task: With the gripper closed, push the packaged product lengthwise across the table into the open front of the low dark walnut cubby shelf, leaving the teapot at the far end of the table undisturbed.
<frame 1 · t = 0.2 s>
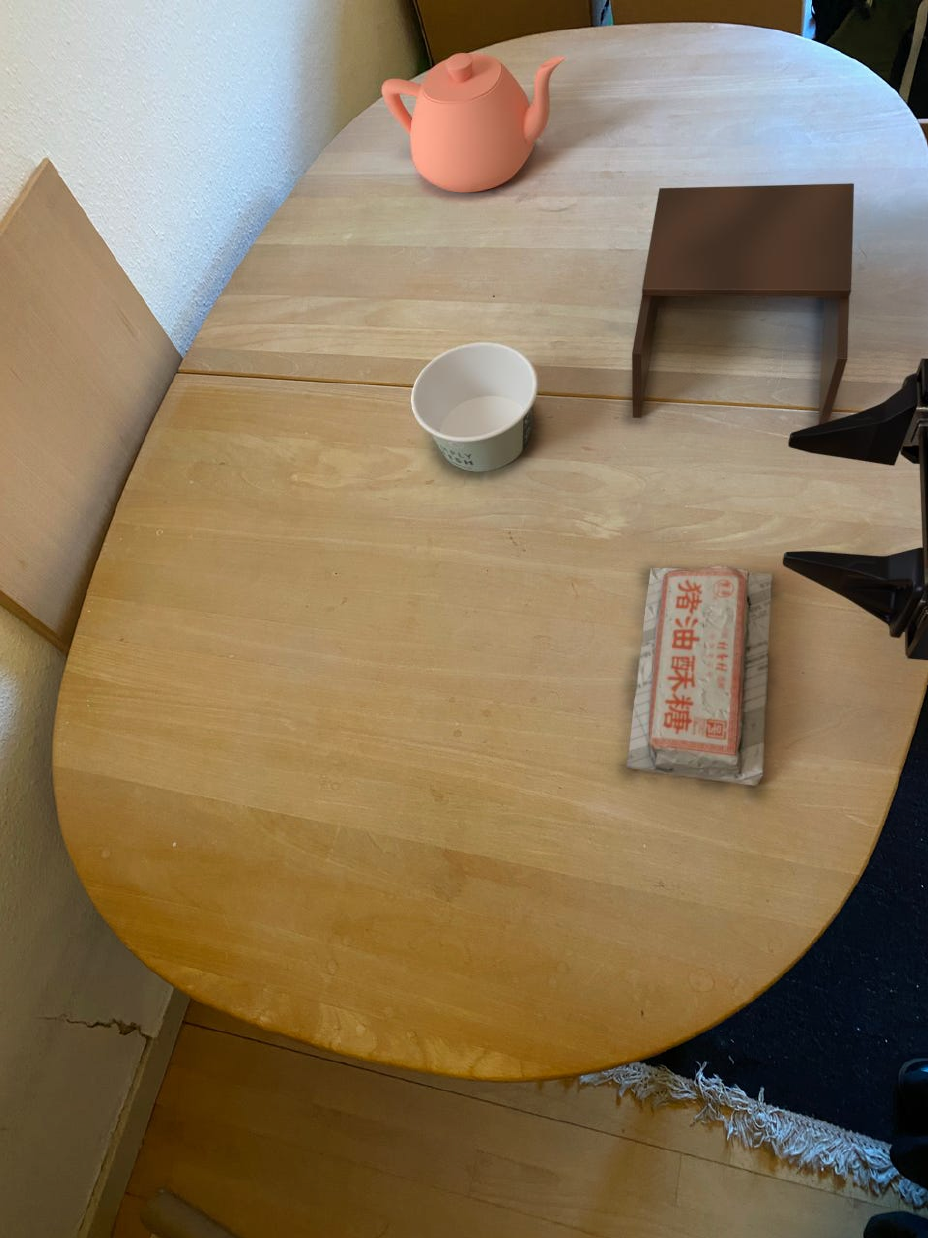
hand: (786, 496, 53), 18 cm above the table, tool horizontal, fingers open, 9 cm apart
packaged product: (701, 674, 68), on the table
cubby shelf: (735, 342, 83), on the table
teapot: (483, 163, 103), on the table
food container: (485, 435, 83), on the table
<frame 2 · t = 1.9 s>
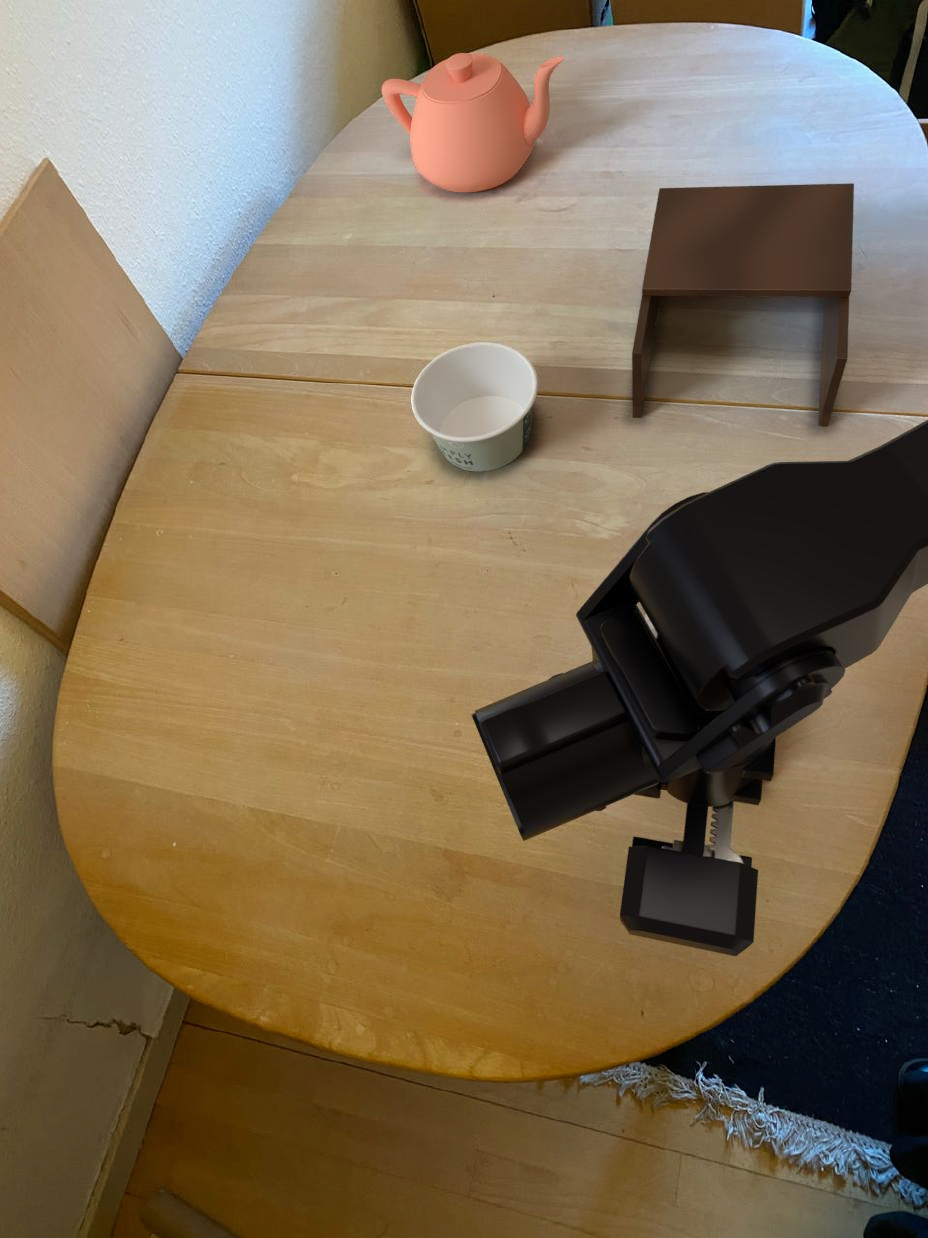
hand: (691, 800, 51), 12 cm above the table, tool pointing down, fingers open, 7 cm apart
nothing on the table moved.
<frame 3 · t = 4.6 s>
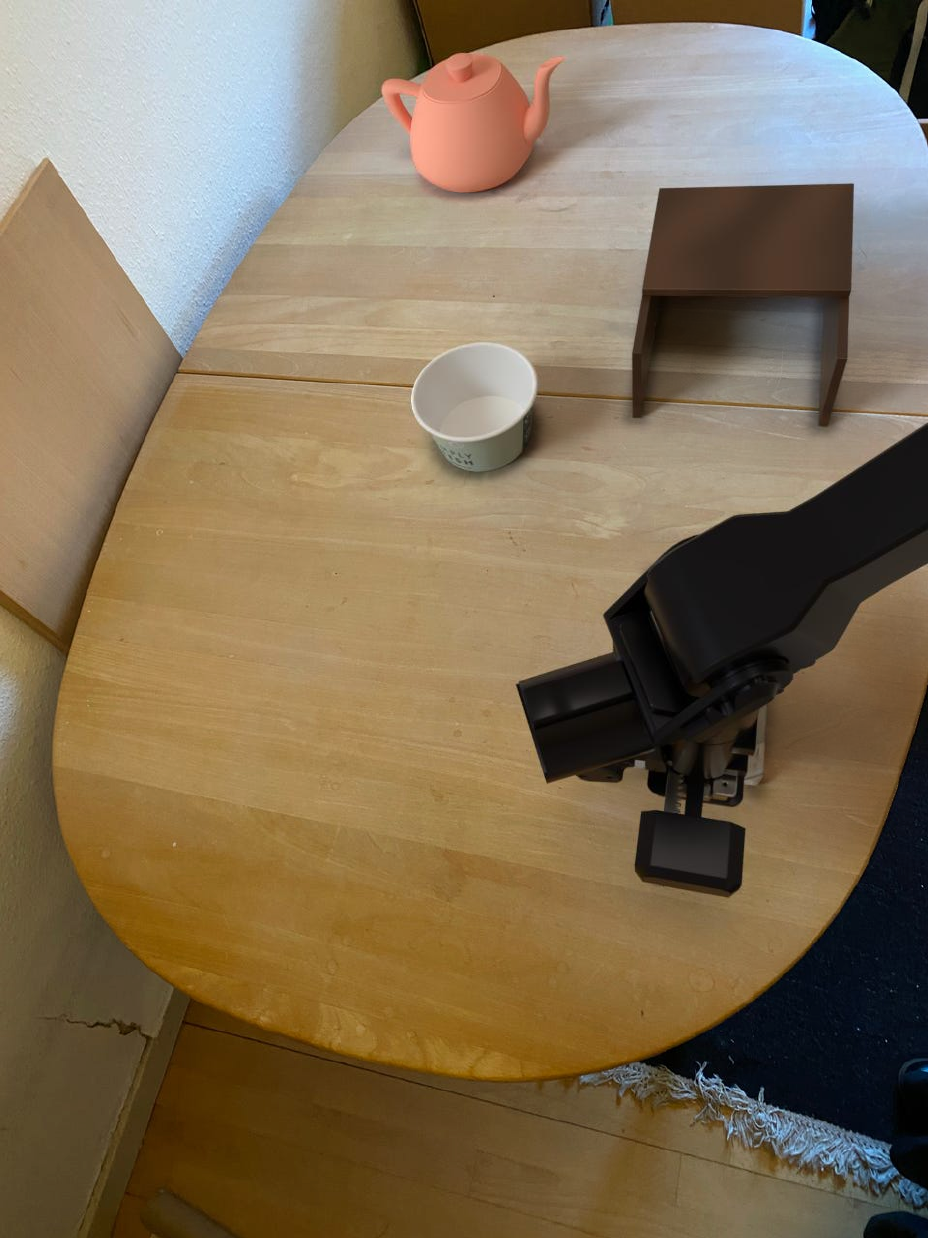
hand: (692, 777, 61), 3 cm above the table, tool pointing down, fingers closed
packaged product: (702, 674, 68), on the table, touching gripper
everything else where it was.
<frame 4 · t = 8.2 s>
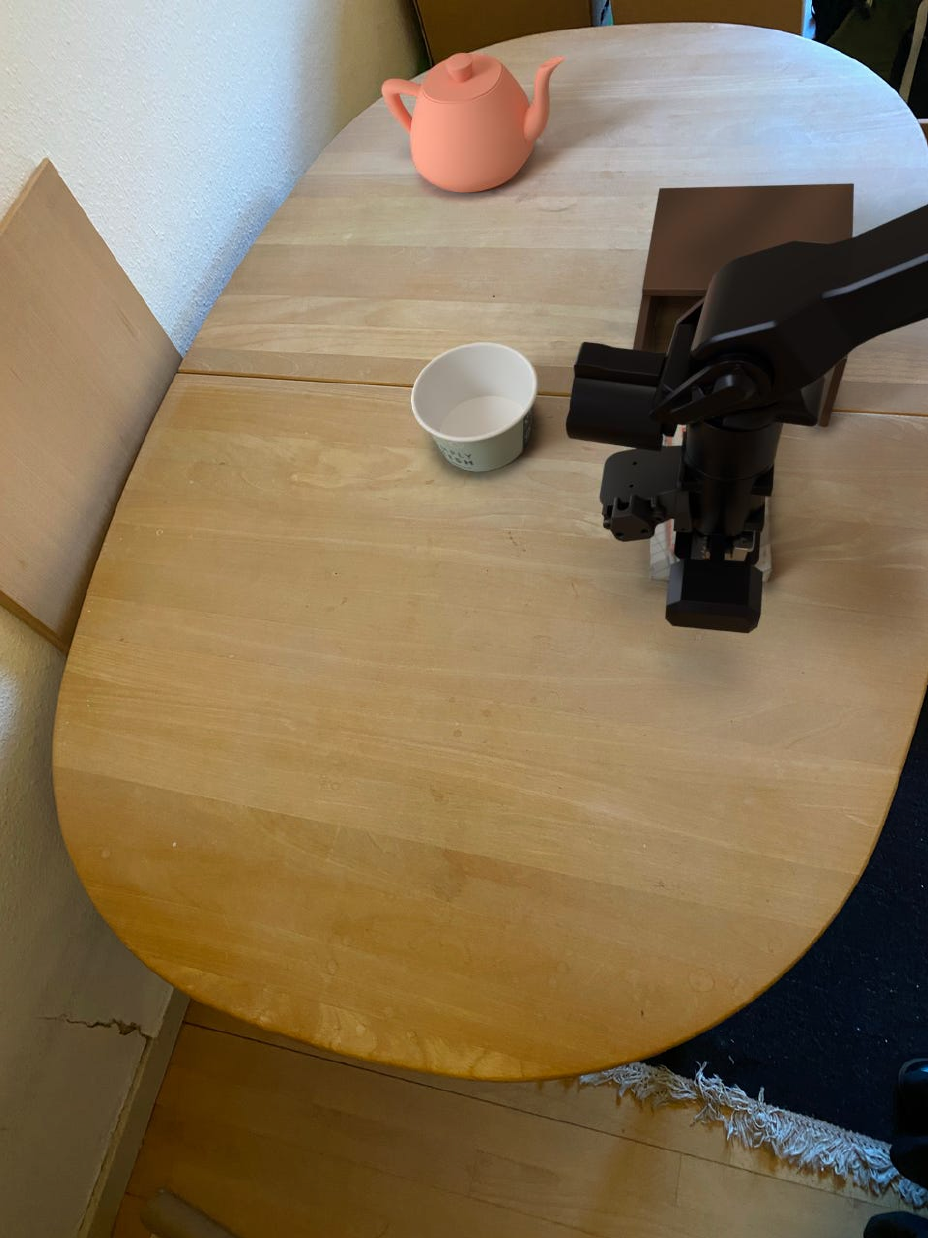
hand: (710, 570, 68), 3 cm above the table, tool pointing down, fingers closed
packaged product: (707, 499, 75), on the table, touching gripper
everything else where it was.
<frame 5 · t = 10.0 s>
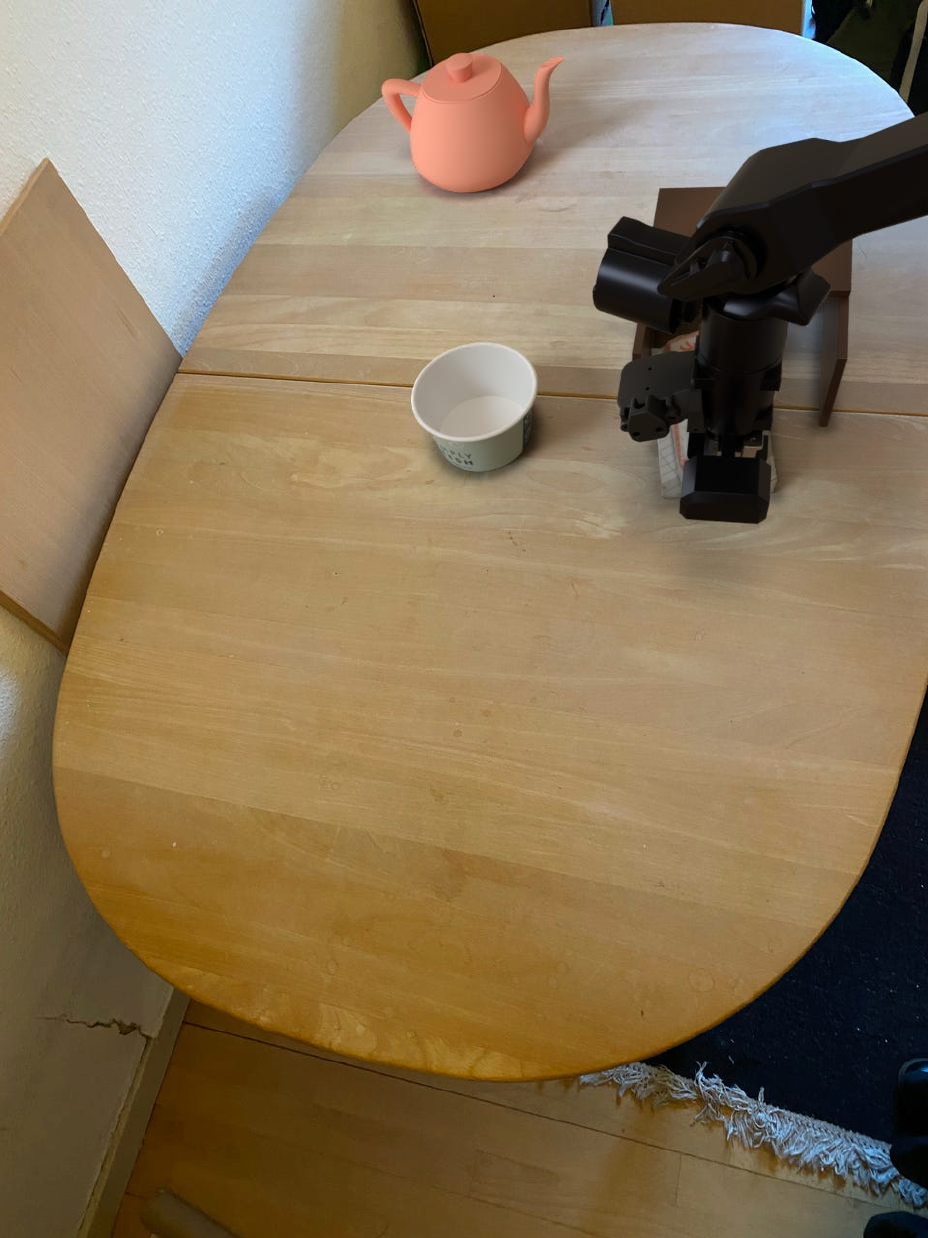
hand: (720, 481, 72), 3 cm above the table, tool pointing down, fingers closed
packaged product: (709, 422, 79), on the table, touching gripper
everything else where it was.
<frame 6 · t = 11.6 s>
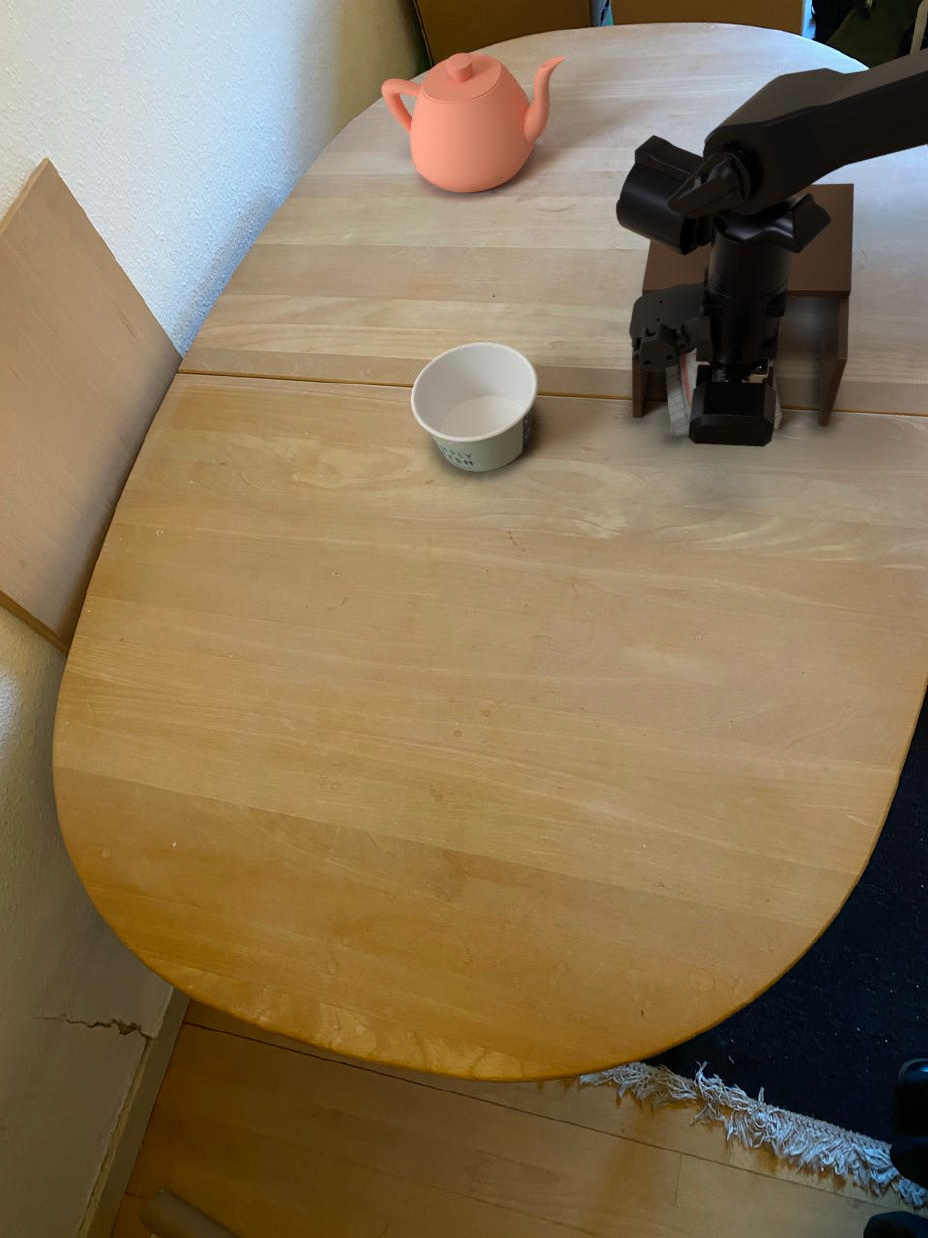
hand: (727, 417, 75), 3 cm above the table, tool pointing down, fingers closed
packaged product: (716, 366, 82), on the table, touching gripper
everything else where it was.
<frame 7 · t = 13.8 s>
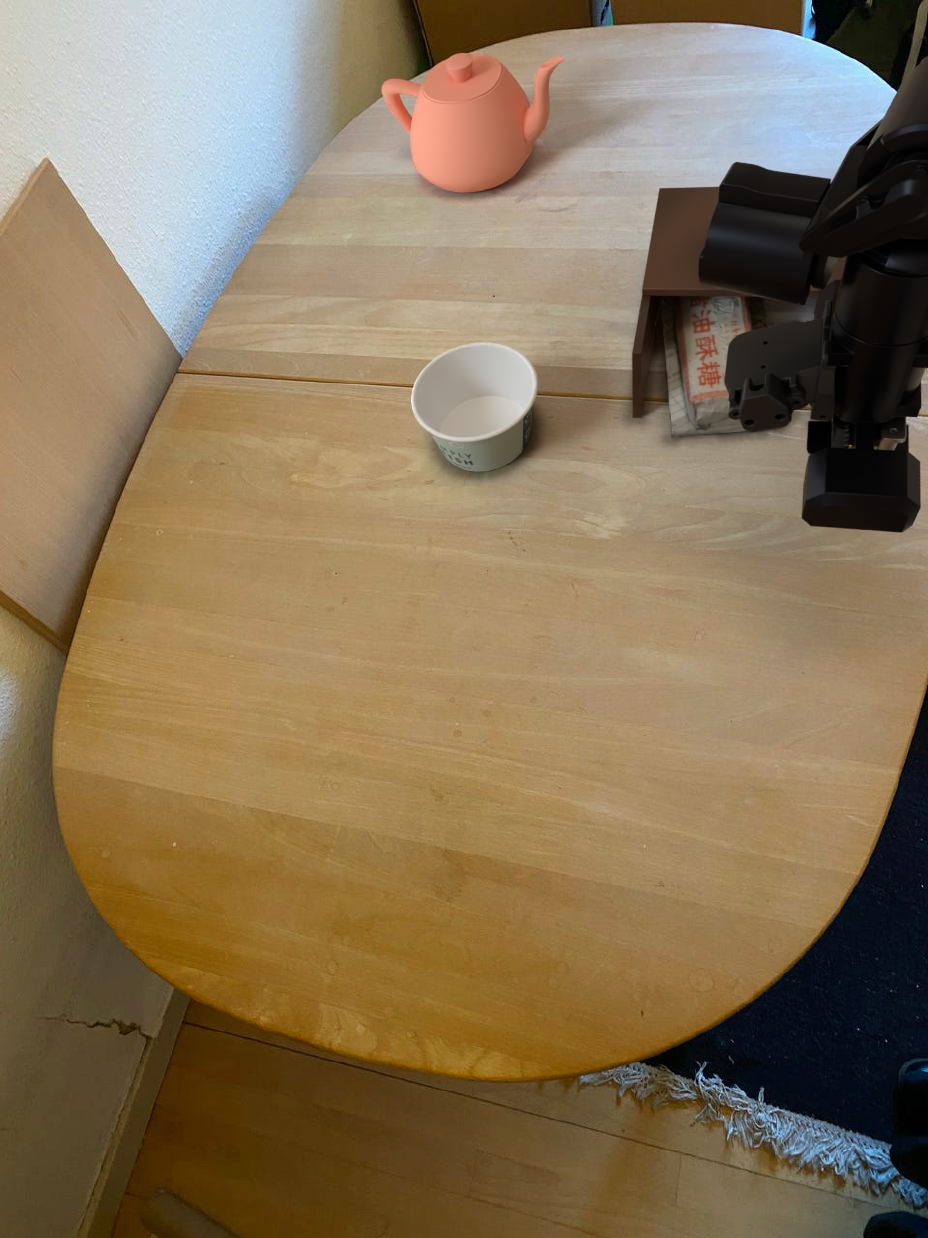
hand: (838, 478, 60), 12 cm above the table, tool pointing down, fingers closed
packaged product: (717, 365, 82), on the table
everything else where it was.
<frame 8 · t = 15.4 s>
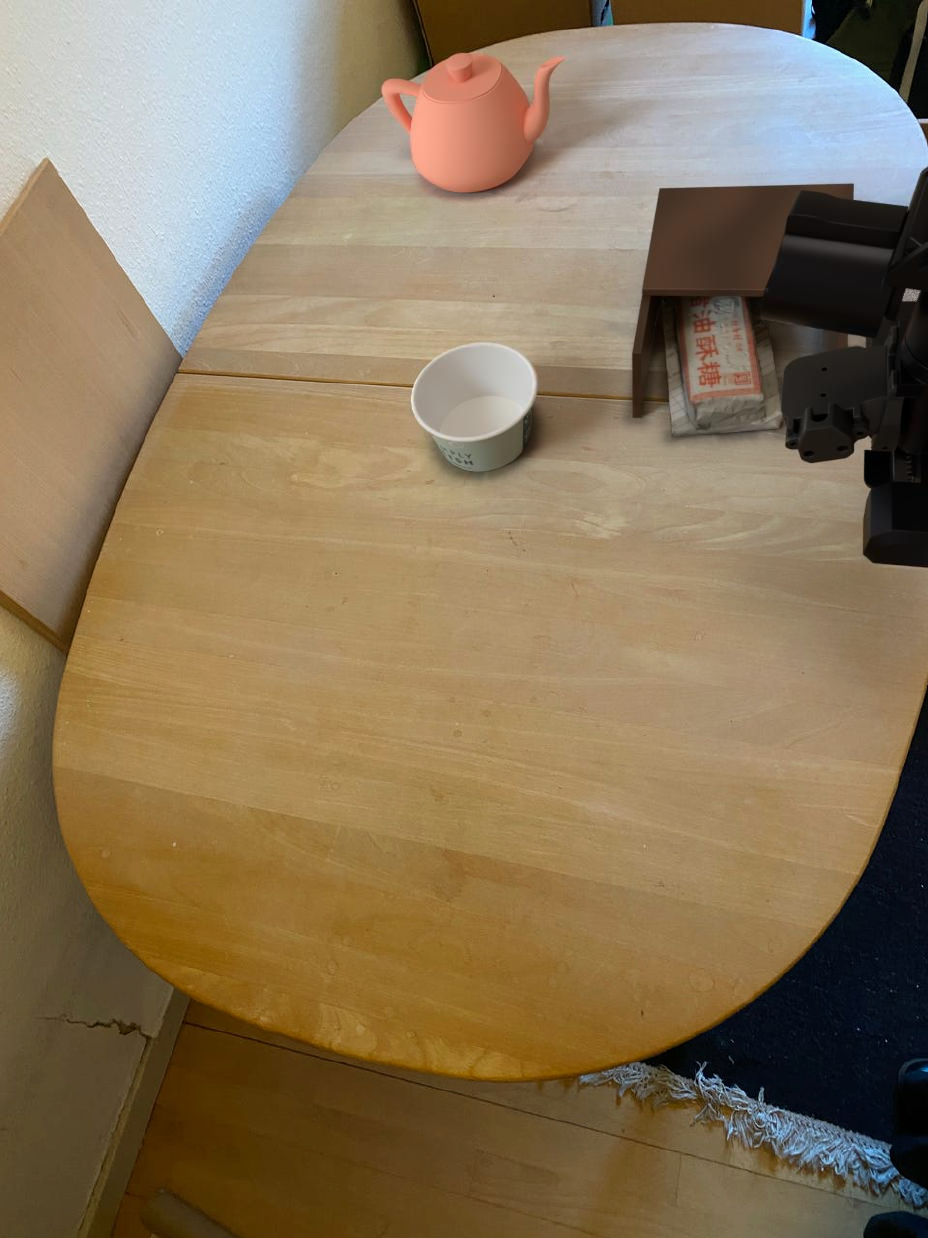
hand: (887, 506, 58), 12 cm above the table, tool pointing down, fingers closed
nothing on the table moved.
at the end: packaged product inside the target area on the cubby shelf (4.6 cm from its centre), point 0.0 cm above the cubby shelf's base; packaged product moved 33.2 cm from its start; teapot moved 0.2 cm from its start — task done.
